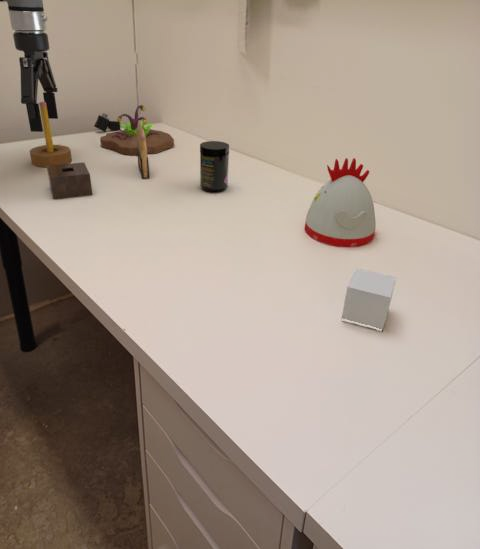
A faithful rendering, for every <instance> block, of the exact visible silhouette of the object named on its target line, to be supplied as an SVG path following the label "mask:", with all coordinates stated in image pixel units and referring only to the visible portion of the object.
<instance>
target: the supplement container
mask: <svg viewBox="0 0 480 549" xmlns="http://www.w3.org/2000/svg"><path fill="white" fill-rule="evenodd" d="M229 159H230V144H229V143H227V142H224V141H221V140H220V141H219V140H208V141H204V142H203V141H202V142H201V143H200V144H199V166H200V168H199V169H200V170H199V175H200V176H199V180H200V182H199V186H200V188H201V190H202V191H204V192H207V193H222V192H225V191H226V190H227V189H228V188H229V166H230V164H229V163H230V160H229Z"/></svg>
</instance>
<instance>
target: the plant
mask: <svg viewBox="0 0 480 549" xmlns="http://www.w3.org/2000/svg"><path fill="white" fill-rule="evenodd" d="M139 109H140V111H141V112H145V111H146V107H145V105H142V104H140V105H139V104H138V105H137V107H136V109H135V112H134V118H133V117H132V116H131V115H129V114H127V113H123V114H121V115H119V116H117V118H116V121H118V122H120V127H122V128H123V129H120V130H118V131H113V132H108V133H106V134H105V135H102V136H100V138H99V141H100V146H101V147H102V148H104V149H107V150H111V151H116V152H117V153H119V154H121V155H127V156H137V157H138V153H137V147H138V145H137V125H138V120H140V122H141V125H142V128H143V130H144V133H145V140H146V146H147V155H148V154H149V155H151V154H152V155H153V154H158V153H160V152H163V151H165V150H168V149H171V148H174V147H175V139H174V138H173V136H172V135H171V134H170V133H168V132H165V131H162V130H155V129H151V128H152V127H153V126H154V122H152V123H151V122H150V123H148V120H147V118H145V117H144V116H141V117H139ZM123 117H127V119H128V120H129V121H126V124H124V123H121V122H122V121H123V120H122V119H123Z"/></svg>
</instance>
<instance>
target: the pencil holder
mask: <svg viewBox="0 0 480 549" xmlns="http://www.w3.org/2000/svg"><path fill="white" fill-rule="evenodd" d="M46 171H47V176H48V177H47V178H48V183H49V187H50V188H49V189H50V192H51V195H52V200H58V199H60V200H61V199H69V198H77V197H85V196H92V195H93V188H92V181H91V173H90V172H89V169H88V167H87V165H86V163H85V162H73V163H68V164H59V165H48V166H47V167H46Z"/></svg>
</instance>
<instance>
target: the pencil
mask: <svg viewBox="0 0 480 549" xmlns="http://www.w3.org/2000/svg"><path fill="white" fill-rule="evenodd" d="M39 109H40V115H41V121H42V127H43V134H44V139H45V140H44V141H45V145H47V151H48V152H54V148H53V145H54V142H53V137H52V130H51V125H50V119H49V118H48V112H47V106H46V102H44V101H41V102H39Z"/></svg>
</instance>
